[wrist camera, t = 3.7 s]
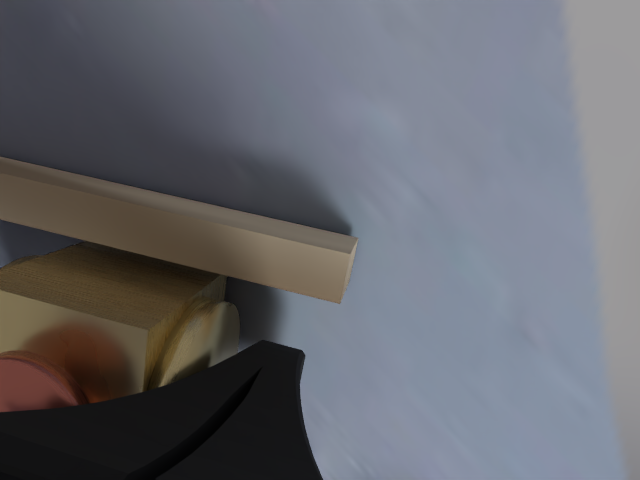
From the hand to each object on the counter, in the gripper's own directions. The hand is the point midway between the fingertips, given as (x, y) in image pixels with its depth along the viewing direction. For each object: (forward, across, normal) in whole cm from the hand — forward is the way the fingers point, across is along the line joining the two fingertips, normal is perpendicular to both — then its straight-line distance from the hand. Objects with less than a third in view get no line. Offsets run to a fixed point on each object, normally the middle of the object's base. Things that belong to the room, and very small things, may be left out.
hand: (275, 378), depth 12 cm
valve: (+1, +4, 0) cm, 4 cm away
